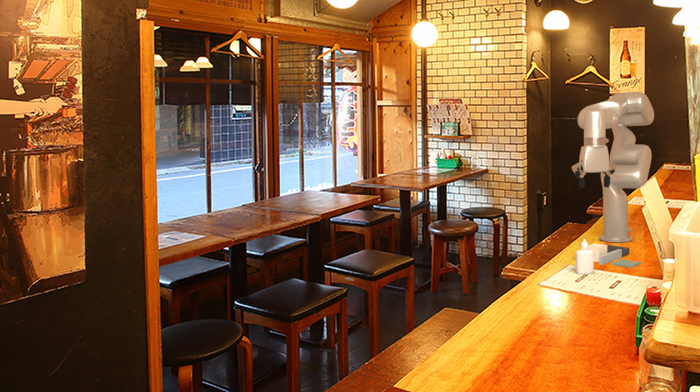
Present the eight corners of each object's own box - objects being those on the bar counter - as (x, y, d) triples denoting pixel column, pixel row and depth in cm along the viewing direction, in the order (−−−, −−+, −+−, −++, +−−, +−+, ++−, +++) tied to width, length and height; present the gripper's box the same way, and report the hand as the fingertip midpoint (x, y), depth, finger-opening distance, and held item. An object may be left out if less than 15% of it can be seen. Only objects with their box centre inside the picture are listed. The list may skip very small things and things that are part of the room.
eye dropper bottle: (577, 270, 209) (577, 237, 207) (594, 272, 206) (594, 238, 204) (574, 273, 205) (574, 240, 204) (592, 275, 202) (592, 241, 201)
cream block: (594, 257, 225) (594, 243, 225) (607, 259, 222) (607, 245, 221) (586, 260, 222) (586, 246, 221) (598, 262, 218) (598, 248, 217)
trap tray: (604, 250, 234) (604, 244, 234) (629, 254, 226) (629, 247, 226) (597, 252, 231) (597, 246, 231) (622, 256, 223) (622, 250, 223)
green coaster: (621, 260, 218) (621, 259, 218) (640, 263, 213) (640, 262, 213) (611, 264, 214) (611, 263, 214) (631, 267, 208) (631, 266, 208)
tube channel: (595, 253, 231) (595, 245, 230) (621, 257, 223) (621, 249, 222) (575, 260, 222) (575, 252, 222) (602, 265, 214) (602, 256, 214)
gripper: (611, 141, 229) (611, 185, 230) (568, 143, 228) (567, 187, 229) (621, 141, 221) (621, 187, 223) (576, 143, 220) (576, 189, 222)
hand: (594, 187), depth 226 cm, fingers open, 9 cm apart
